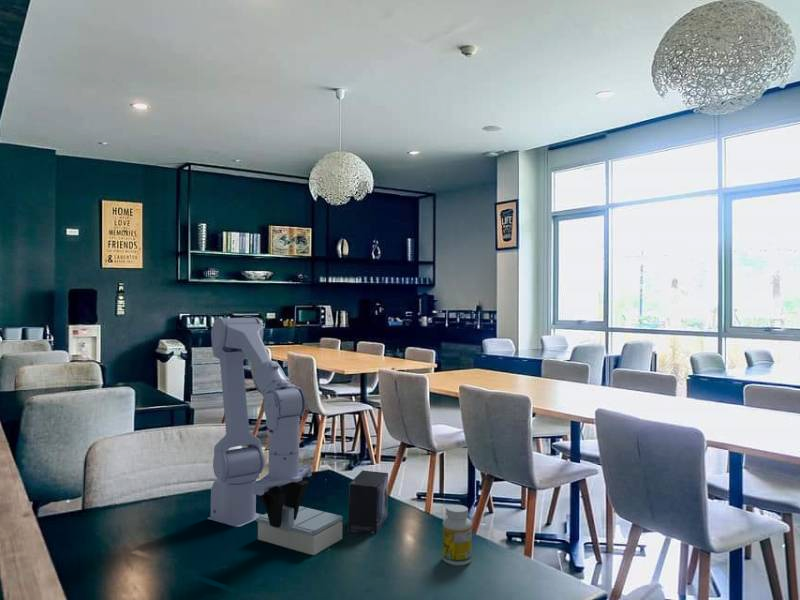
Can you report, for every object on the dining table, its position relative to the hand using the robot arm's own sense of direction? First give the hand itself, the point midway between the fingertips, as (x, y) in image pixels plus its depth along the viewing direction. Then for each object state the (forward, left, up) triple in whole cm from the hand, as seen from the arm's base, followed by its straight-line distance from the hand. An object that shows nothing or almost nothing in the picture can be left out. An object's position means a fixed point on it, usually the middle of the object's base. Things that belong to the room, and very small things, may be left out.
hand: (283, 522), depth 113 cm
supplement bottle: (+30, +14, -6) cm, 34 cm away
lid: (0, +4, -1) cm, 5 cm away
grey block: (0, +5, -5) cm, 7 cm away
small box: (+7, +19, -6) cm, 21 cm away
